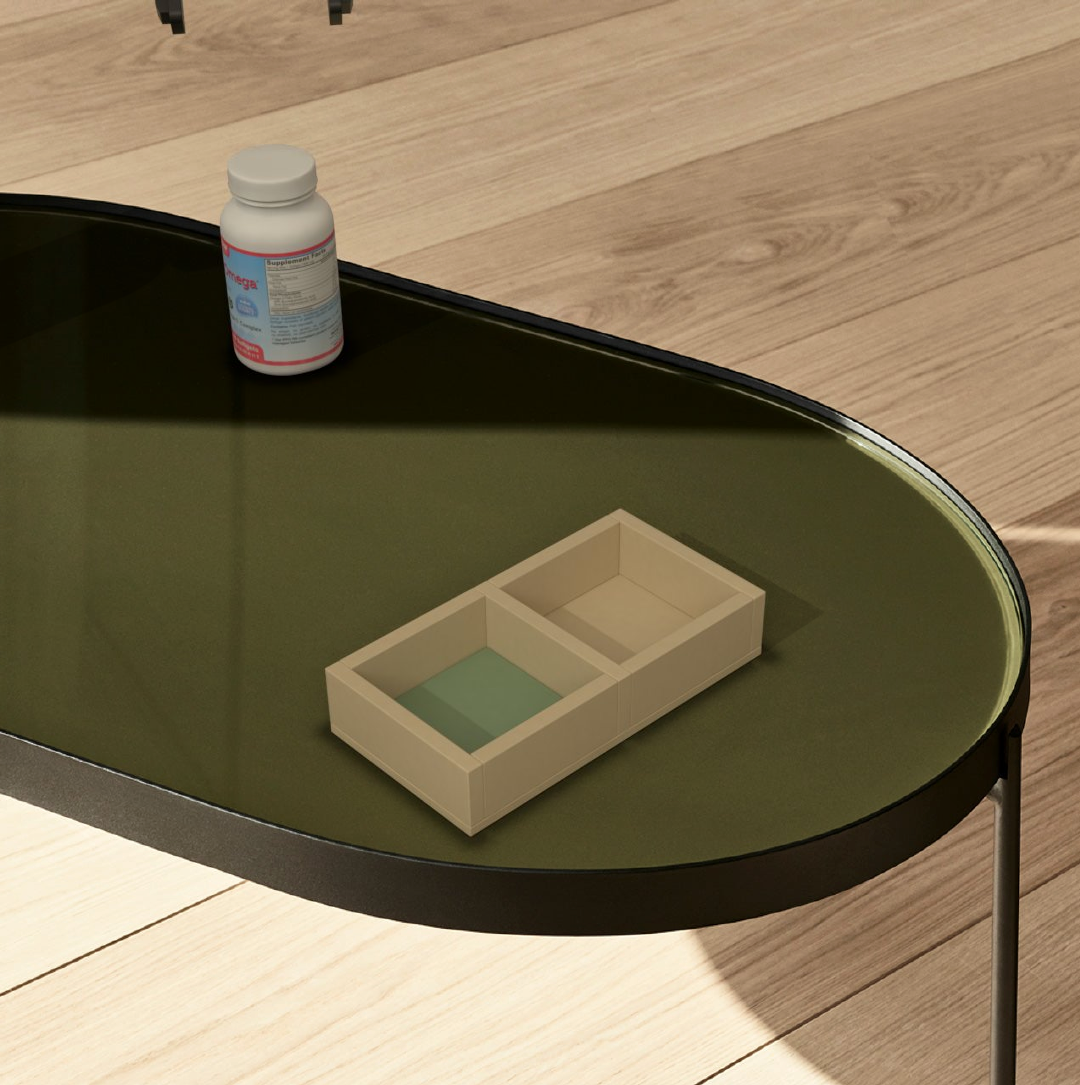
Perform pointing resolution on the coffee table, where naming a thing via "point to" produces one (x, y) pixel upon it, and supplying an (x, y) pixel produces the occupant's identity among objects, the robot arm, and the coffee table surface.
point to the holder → (543, 667)
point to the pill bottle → (280, 262)
